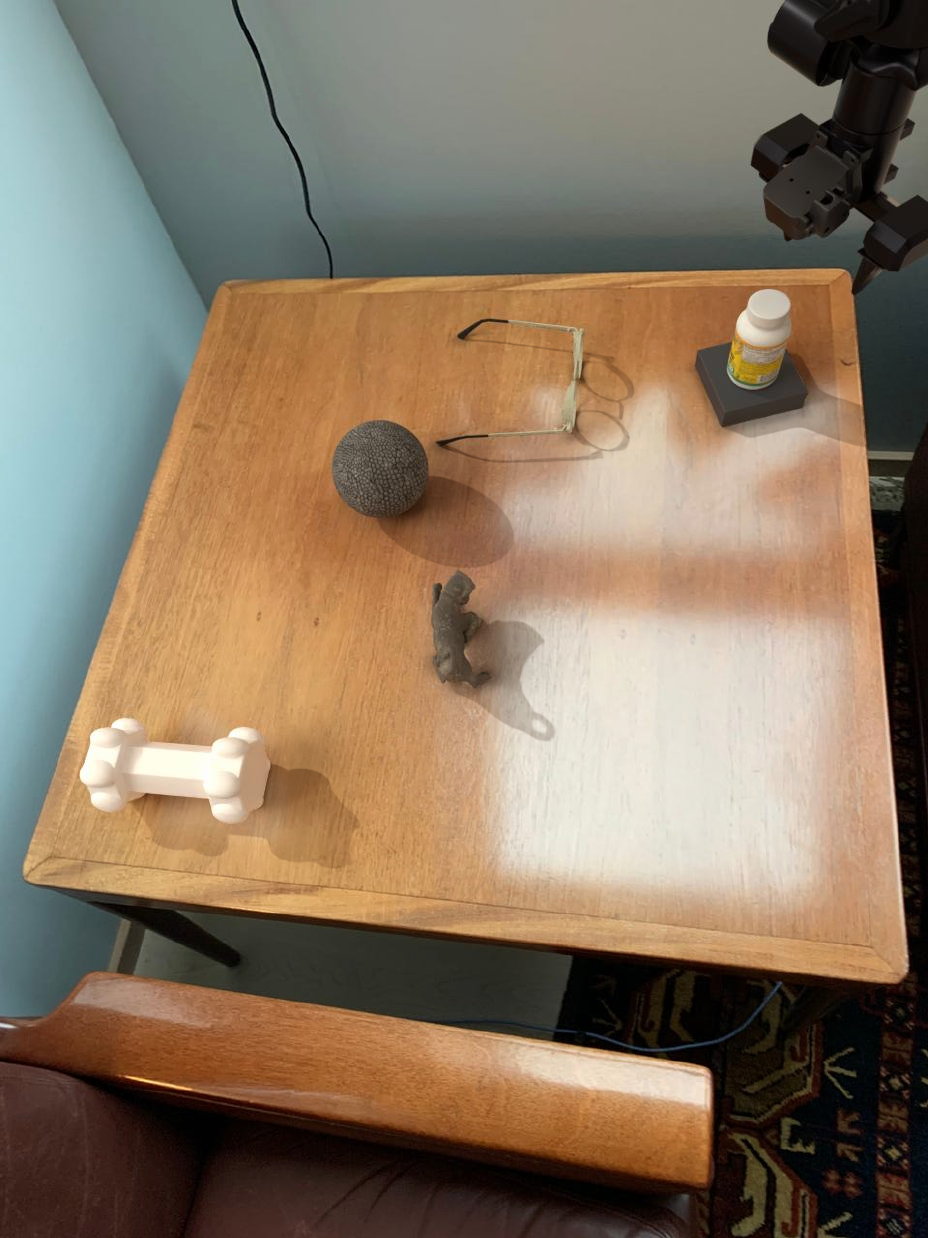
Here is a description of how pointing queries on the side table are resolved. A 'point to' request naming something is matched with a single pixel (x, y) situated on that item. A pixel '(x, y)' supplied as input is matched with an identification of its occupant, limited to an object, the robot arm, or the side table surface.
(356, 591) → the side table surface
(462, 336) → the eyeglasses
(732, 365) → the supplement bottle
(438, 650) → the dog figurine
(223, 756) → the dog bone
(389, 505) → the decorative ball
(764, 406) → the block
